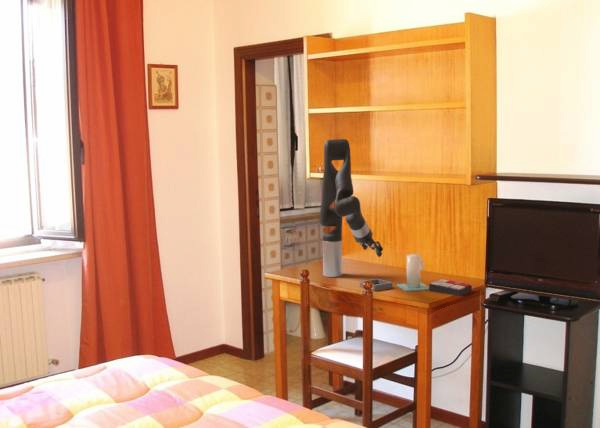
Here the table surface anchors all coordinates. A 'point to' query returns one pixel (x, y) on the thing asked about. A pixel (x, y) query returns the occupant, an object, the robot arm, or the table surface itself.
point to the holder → (379, 284)
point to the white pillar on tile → (414, 270)
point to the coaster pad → (405, 288)
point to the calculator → (450, 287)
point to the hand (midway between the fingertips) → (373, 251)
